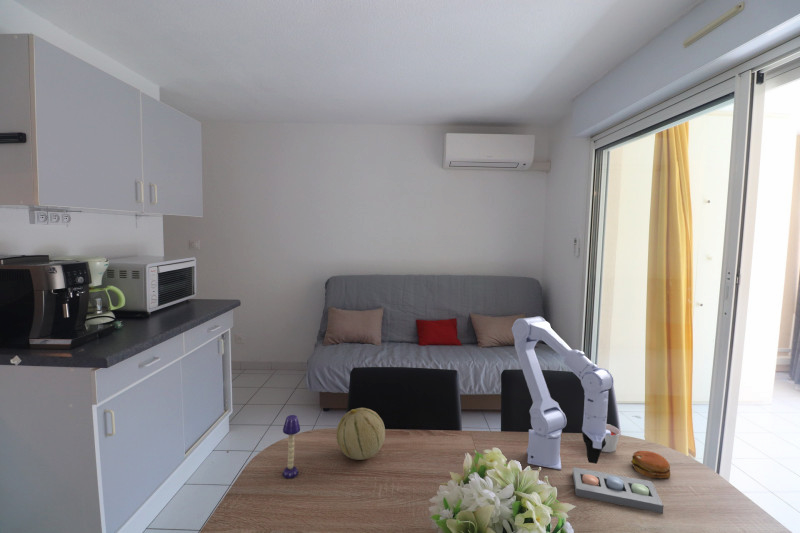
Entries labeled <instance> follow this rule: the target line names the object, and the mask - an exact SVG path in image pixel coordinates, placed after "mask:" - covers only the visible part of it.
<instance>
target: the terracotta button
mask: <svg viewBox="0 0 800 533" xmlns="http://www.w3.org/2000/svg"><path fill="white" fill-rule="evenodd" d="M581 482H582V483H584V484H589V485H594V486H599V485H598V483H599V480H598V478H597V477H595V476H593V475H589V474H585V475H583V477H582V481H581Z"/></svg>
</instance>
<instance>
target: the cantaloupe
mask: <svg viewBox="0 0 800 533" xmlns="http://www.w3.org/2000/svg"><path fill="white" fill-rule="evenodd" d="M335 436H336V442H337V445H338V448H339V450H340V451H341V452H342V453H343V454H344V455H345V456H346V457H348V458H349V459H351V460H359V461H361V460H363V461H364V460H366V459H369V458H372V457H374V456H375V455H377V454H378V453H379V451H380V450H381V448H382V446H383V444H384V441H385V438H386V428H385V424H384V421H383V419H382V418H381V417H380V415H379V414H378V413H377V412H376V411H374V410H372V409H370V408H366V407H358V408H354V409H350V410H349V411H347V412H346V413H345V414H344V415H343V416H342V418H341V419H340V420H339V423H338V424H337V428H336V435H335Z"/></svg>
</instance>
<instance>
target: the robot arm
mask: <svg viewBox="0 0 800 533" xmlns="http://www.w3.org/2000/svg"><path fill="white" fill-rule="evenodd" d="M511 332H512V336H513V338H514V349H515V351H516V354H517V358H518V360H519V365H520V367H521V370H522V373H523V376H524V379H525V382H526V385H527V388H528V391H529V394H530V396H531V399H532V405H531V406H530V409H529V412H528V413H529V414H530V424H531V429H528V445H527V447H526V454H527V464H529V465H533V466H539V467H545V468H550V469H555V470H562V462H561V455H560V453H561V439H562V438H561V437H562V436H561V434H562V432H563V429H564V428H565V427H566V426H567V422H568V421H567V417H566V414H565V412H563V410H562V409H561V407H560V405H559V402H557V401H555V400H554V399H553V398H552V397H551V394H550V391H549V388H548V386H547V383H546V380H545V377H544V374H543V371H542V368H541V366H540V362H539V360H538V357H537V355H536V352H535V347H536V345H537V343H538V342H539V341H543V342H544V343H545V344H546V345H547V346H549V347H550V348H551V349H552V350H554V351H555V352H556V353H557V354H558V355H560V356H561V358H563V359H562V360H563V364H564V366H565V367H567V368H568V369H569V370H570V371H571V372H572V373H573V375H575V376H576V377H577V378H578V379H579V380H580V384H581V386H582V388H583V391H584V392H583V393H584V394H583V395H584V405H583V418H582V419H583V420H582V421H583V422H582V427H581V431H582V432H581V436H582V439H583V443H584V444H585V448H586V449H585V450H586V457H587V461H588V463H591V464H597V463H598V462H599V458H600V455H601V452H602V451H601V450H602V449H603V447H604V446H605V445H606V441H605V437H606V436H607V435H608V436H610V435H611V432H610V431H609V430H606V424H608V423H607V422H608V421H607V420H608V409H609V408H608V405H609V392H610V391H609V390H610V389H611V388H613V386H614V378H613V375H612V374H611V372H609V370H608V369H606V368H603V367H599V365H598V364H596V363H595V364H594V363H593V361H592V360H590V359H589V358H588V357H587V356H586V353H585V352H584V351H583V350H579V349H572V348H571V347H570V346H569V345H568V344H567V343H566V342H565V340H563V339H562V337H560V336H559V334H558V333H556V331H554V330H553V329H552V328H551V323H550V322H549V321H546V319H545V318H544V317H542V316H540V315H537V316H534V317H532V316H531V317H524V318H521V317H520V318H517V319H516V320H515V321H514V322H513V323H512V327H511Z"/></svg>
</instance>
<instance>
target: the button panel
mask: <svg viewBox="0 0 800 533" xmlns="http://www.w3.org/2000/svg"><path fill="white" fill-rule="evenodd" d="M585 474H589V475H593V476H595V477H597V478H598V480H599V483H598V484H599V485H598V486H594V485H589V484H584V483H582V477H583V475H585ZM609 476H614V477H617V478H619V479H621V480H622V481H623V482H624V483H623V491H620V490H614V489H609V488H607V486H606V483H607V477H609ZM572 479H573V484H574V491H575V492H574V493H575V496H576V497H579V498H580V497H581V498H586V499H590V500H591V499H592V500H595V501H601V502H606V503H610V504H616V505H621V506H625V507H630V508H634V509H640V510H645V511H650V512H655V513H659V514H664V504H663V502H662V500H661V498H660V496H659V493H658V491H657V489H656V487H655V485H654V483H653V481H651V480H646V479H642V478H641V479H640V478H635V477H629V476H625V475H624V476H623V475H619V474H614V473H613V474H612V473H608V472H604V471H603V472H602V471H596V470H592V469H587V468H580V467H574V466H572ZM634 483H637V484H641V485H644V486H646V487H647V488H648V489H649V496H645V495H640V494H635V493H632V492H631V486H632V484H634Z"/></svg>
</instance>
